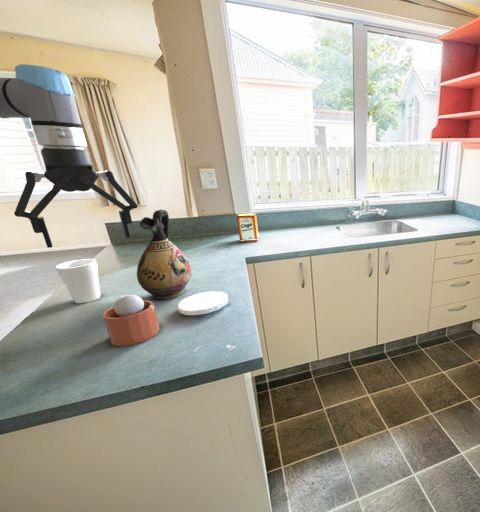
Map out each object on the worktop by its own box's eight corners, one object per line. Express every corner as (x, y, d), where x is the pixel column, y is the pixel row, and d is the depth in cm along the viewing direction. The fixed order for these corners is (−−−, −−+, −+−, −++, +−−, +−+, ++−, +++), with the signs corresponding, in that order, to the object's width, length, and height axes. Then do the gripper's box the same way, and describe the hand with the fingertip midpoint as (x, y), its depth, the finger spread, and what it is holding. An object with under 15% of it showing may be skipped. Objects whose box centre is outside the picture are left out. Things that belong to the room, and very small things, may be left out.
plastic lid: (235, 307, 98) (234, 300, 97) (187, 323, 88) (185, 315, 87) (219, 294, 107) (217, 288, 106) (173, 307, 97) (172, 300, 96)
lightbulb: (145, 323, 86) (136, 289, 82) (153, 330, 82) (144, 294, 79) (119, 333, 81) (108, 296, 78) (126, 340, 78) (115, 303, 74)
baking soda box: (240, 242, 173) (236, 215, 168) (242, 239, 179) (238, 213, 174) (257, 241, 176) (254, 214, 171) (259, 238, 182) (255, 212, 177)
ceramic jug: (183, 302, 100) (164, 215, 91) (132, 305, 98) (108, 215, 89) (203, 282, 116) (189, 206, 107) (160, 284, 114) (142, 207, 105)
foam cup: (103, 301, 100) (92, 265, 96) (65, 308, 95) (51, 270, 91) (108, 291, 108) (97, 257, 104) (72, 297, 103) (60, 261, 99)
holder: (100, 346, 77) (91, 318, 74) (131, 324, 86) (124, 300, 84) (141, 345, 77) (133, 318, 74) (167, 324, 87) (162, 300, 84)
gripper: (-34, 144, 54) (9, 255, 60) (139, 150, 71) (157, 235, 78) (-27, 145, 59) (12, 247, 65) (133, 150, 76) (151, 230, 83)
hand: (91, 241), depth 72 cm, fingers open, 13 cm apart
